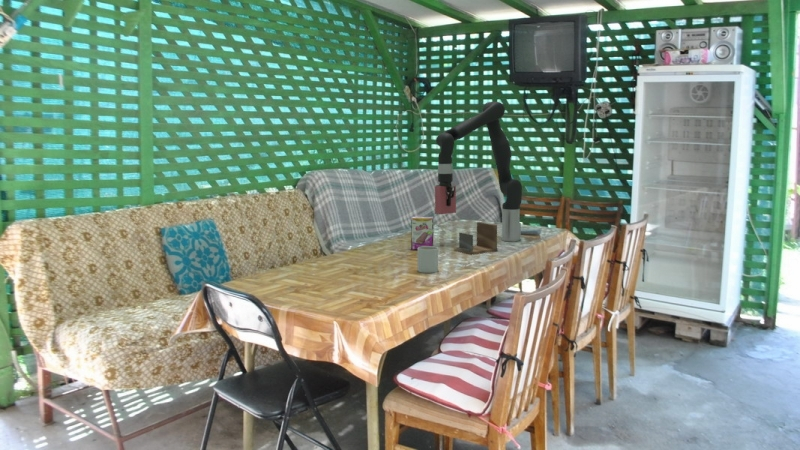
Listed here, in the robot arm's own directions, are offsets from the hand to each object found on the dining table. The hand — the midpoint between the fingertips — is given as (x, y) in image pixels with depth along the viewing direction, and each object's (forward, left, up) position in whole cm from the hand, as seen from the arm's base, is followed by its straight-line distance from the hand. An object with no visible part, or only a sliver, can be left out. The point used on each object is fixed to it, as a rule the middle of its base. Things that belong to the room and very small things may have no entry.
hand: (445, 205), depth 346 cm
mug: (+42, +45, -21) cm, 65 cm away
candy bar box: (+16, +2, -21) cm, 27 cm away
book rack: (-3, +21, -21) cm, 30 cm away
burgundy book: (0, 0, -4) cm, 4 cm away
